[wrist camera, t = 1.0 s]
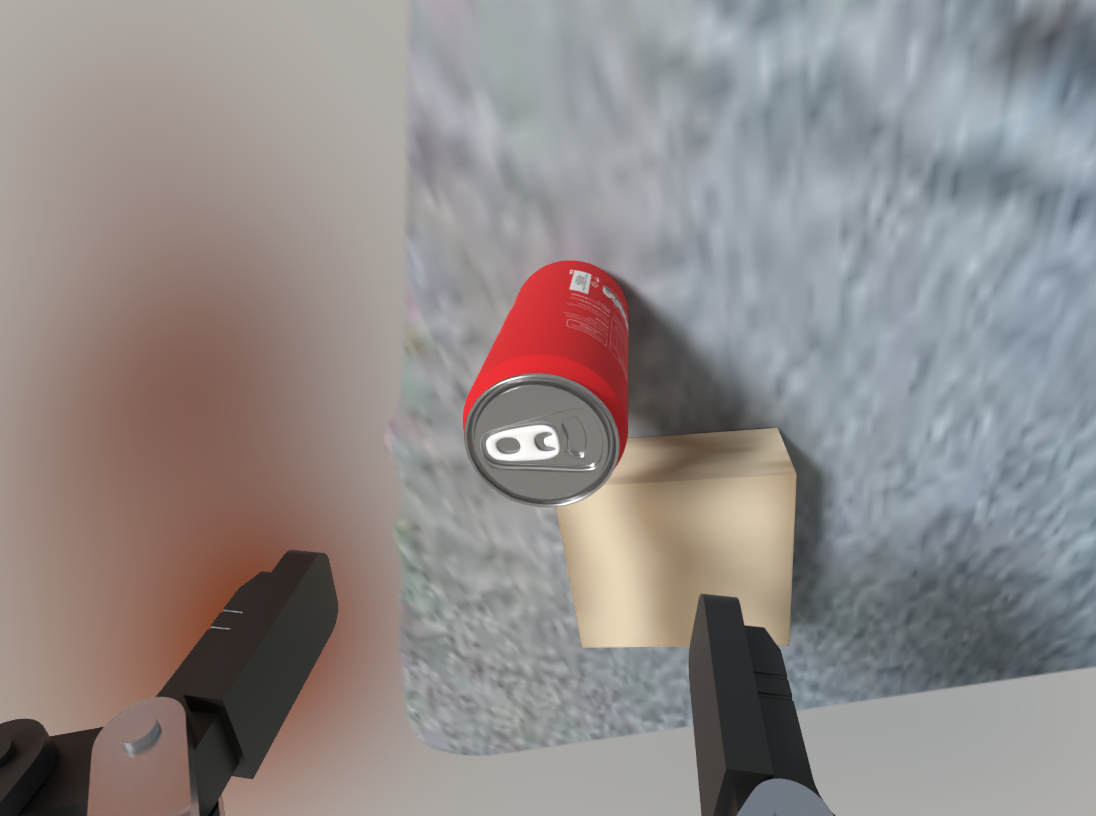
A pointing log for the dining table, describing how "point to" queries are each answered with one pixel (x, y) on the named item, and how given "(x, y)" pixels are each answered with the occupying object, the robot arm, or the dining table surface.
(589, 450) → the beverage can
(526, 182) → the dining table surface
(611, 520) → the beech block
